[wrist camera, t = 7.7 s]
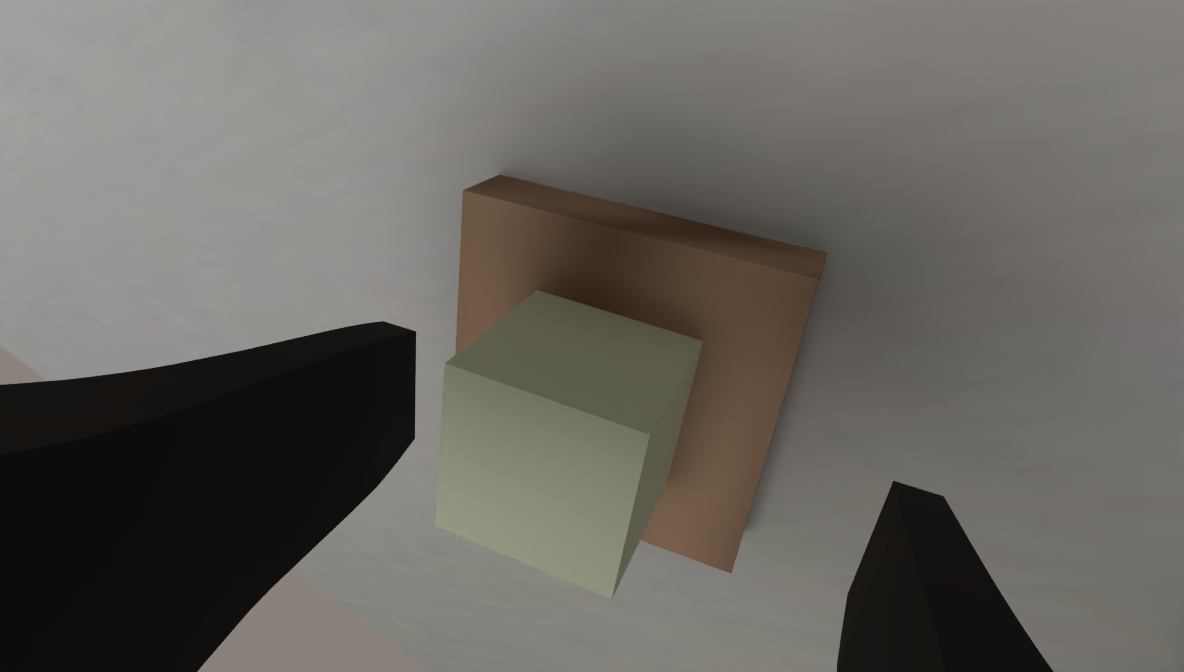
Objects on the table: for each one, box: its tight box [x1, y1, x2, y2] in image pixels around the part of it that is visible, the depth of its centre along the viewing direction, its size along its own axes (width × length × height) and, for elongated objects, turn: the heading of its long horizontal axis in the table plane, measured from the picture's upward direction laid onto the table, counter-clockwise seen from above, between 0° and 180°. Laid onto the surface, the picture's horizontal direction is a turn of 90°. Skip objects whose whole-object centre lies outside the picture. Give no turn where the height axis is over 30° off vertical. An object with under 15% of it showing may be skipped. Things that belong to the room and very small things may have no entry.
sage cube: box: [435, 290, 703, 600], centre depth 17 cm, size 4×4×4 cm
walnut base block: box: [456, 175, 826, 573], centre depth 20 cm, size 9×9×2 cm
